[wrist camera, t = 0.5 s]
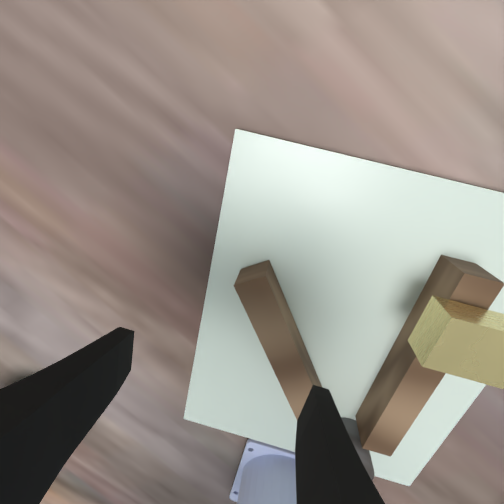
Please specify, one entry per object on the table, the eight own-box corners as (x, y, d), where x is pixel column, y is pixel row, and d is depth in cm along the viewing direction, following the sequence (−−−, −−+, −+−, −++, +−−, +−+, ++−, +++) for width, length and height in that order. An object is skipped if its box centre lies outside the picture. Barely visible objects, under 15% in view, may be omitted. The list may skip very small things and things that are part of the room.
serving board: (405, 473, 25) (409, 486, 24) (187, 408, 26) (183, 418, 25) (592, 214, 15) (611, 218, 14) (238, 129, 16) (235, 128, 16)
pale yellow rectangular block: (480, 359, 16) (504, 389, 14) (407, 340, 16) (421, 366, 14) (511, 315, 14) (542, 341, 13) (432, 295, 15) (451, 317, 13)
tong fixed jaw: (363, 452, 23) (372, 494, 20) (318, 438, 23) (321, 478, 21) (475, 263, 16) (512, 288, 14) (410, 246, 17) (432, 268, 14)
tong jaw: (334, 416, 22) (338, 446, 20) (309, 420, 23) (310, 449, 20) (269, 259, 18) (265, 275, 16) (240, 268, 18) (233, 285, 16)
